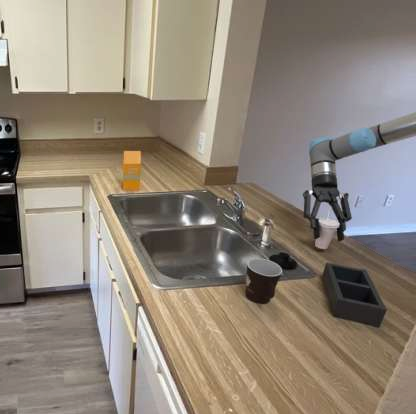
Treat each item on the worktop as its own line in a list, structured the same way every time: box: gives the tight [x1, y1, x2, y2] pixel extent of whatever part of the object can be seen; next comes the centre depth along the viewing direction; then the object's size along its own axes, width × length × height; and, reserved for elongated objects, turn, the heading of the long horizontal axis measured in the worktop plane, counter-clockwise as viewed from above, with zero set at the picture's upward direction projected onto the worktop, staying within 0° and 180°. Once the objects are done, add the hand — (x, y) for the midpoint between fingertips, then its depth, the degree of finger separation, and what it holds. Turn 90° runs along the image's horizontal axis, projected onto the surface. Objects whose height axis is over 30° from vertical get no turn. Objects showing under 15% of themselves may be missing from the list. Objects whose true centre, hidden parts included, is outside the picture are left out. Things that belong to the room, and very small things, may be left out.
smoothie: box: [314, 208, 340, 250], centre depth 113 cm, size 6×6×14 cm
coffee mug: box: [244, 257, 283, 305], centre depth 91 cm, size 12×9×10 cm
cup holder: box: [321, 262, 388, 328], centre depth 91 cm, size 10×19×6 cm, turn 156°
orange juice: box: [122, 150, 142, 191], centre depth 173 cm, size 8×9×20 cm
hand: (328, 238), depth 111 cm, fingers closed on smoothie, 6 cm apart
